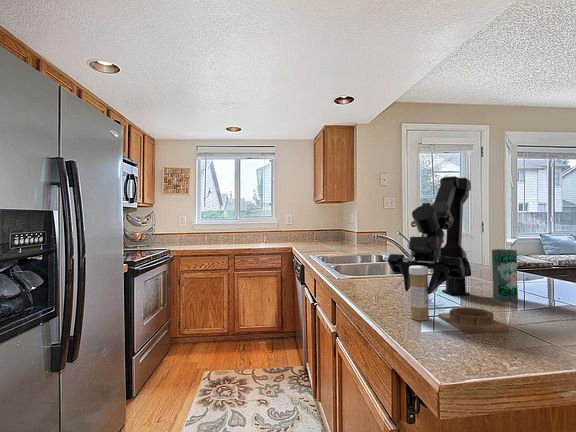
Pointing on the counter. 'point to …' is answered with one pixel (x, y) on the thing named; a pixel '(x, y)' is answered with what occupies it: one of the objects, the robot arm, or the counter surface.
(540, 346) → the counter surface
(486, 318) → the holder
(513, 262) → the can
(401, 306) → the counter surface
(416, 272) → the sprinkles bottle
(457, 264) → the robot arm
